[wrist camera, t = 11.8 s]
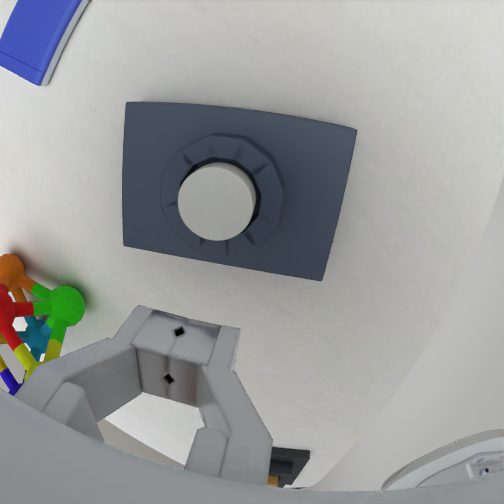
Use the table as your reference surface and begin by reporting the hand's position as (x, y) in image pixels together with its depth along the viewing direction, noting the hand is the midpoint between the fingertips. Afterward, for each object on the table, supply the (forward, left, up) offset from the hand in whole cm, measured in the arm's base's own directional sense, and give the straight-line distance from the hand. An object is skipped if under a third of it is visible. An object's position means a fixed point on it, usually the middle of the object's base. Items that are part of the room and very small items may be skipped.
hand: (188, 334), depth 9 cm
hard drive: (+18, -15, -14) cm, 28 cm away
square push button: (-7, +35, -14) cm, 38 cm away
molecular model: (+19, +14, -14) cm, 28 cm away
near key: (+1, -1, -10) cm, 10 cm away
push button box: (+1, -1, -14) cm, 14 cm away
